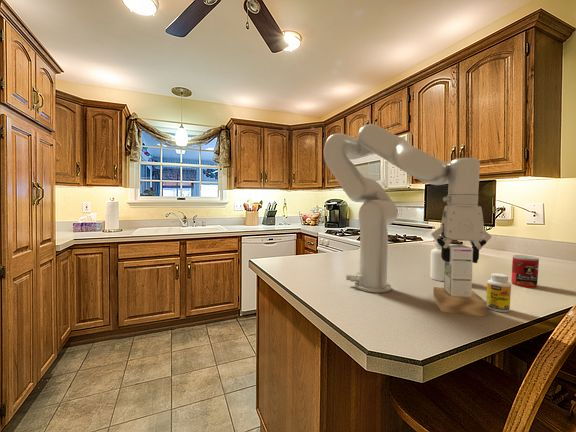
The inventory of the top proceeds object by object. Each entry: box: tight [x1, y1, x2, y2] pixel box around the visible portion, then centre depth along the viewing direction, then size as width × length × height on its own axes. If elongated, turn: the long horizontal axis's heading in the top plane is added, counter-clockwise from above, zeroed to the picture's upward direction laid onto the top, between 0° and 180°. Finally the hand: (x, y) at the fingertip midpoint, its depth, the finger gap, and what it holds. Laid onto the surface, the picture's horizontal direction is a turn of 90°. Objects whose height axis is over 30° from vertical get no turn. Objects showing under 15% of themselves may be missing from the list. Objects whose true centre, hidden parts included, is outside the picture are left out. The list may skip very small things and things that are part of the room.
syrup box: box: [443, 243, 473, 298], centre depth 83 cm, size 6×6×14 cm
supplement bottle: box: [485, 272, 512, 313], centre depth 82 cm, size 6×6×10 cm
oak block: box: [432, 286, 487, 317], centre depth 83 cm, size 11×11×4 cm
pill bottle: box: [429, 241, 445, 282], centre depth 114 cm, size 8×8×15 cm
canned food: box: [511, 254, 540, 289], centre depth 107 cm, size 8×8×11 cm
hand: (459, 261), depth 83 cm, fingers open, 7 cm apart
